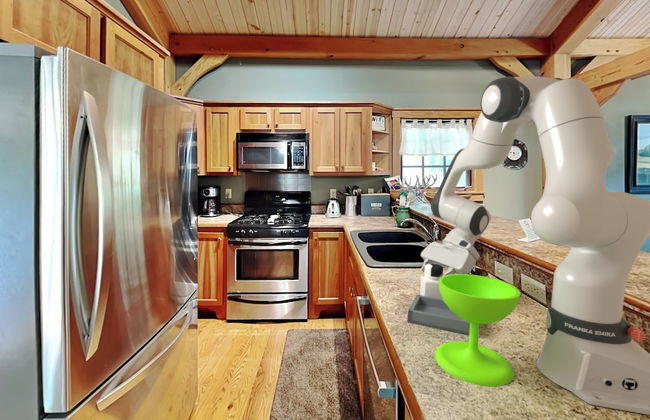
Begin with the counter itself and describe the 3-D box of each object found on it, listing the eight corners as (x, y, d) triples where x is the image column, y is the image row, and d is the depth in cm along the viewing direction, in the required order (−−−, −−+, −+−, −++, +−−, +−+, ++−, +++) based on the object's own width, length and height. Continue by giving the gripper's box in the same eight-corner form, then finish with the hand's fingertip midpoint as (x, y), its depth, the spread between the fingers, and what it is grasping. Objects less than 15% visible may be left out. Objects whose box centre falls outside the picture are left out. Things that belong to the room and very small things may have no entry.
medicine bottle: (440, 295, 109) (441, 262, 108) (445, 303, 102) (447, 268, 101) (419, 294, 110) (421, 261, 109) (424, 302, 103) (425, 267, 101)
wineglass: (481, 341, 78) (486, 273, 76) (532, 382, 62) (540, 297, 60) (422, 345, 76) (425, 275, 74) (460, 390, 60) (465, 301, 58)
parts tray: (477, 316, 92) (478, 305, 92) (477, 337, 80) (478, 324, 80) (416, 304, 100) (416, 294, 100) (407, 322, 88) (408, 310, 88)
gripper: (431, 234, 116) (408, 261, 113) (475, 245, 97) (449, 278, 94) (439, 245, 118) (417, 272, 115) (484, 258, 99) (459, 290, 96)
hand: (432, 275), depth 105 cm, fingers open, 8 cm apart
